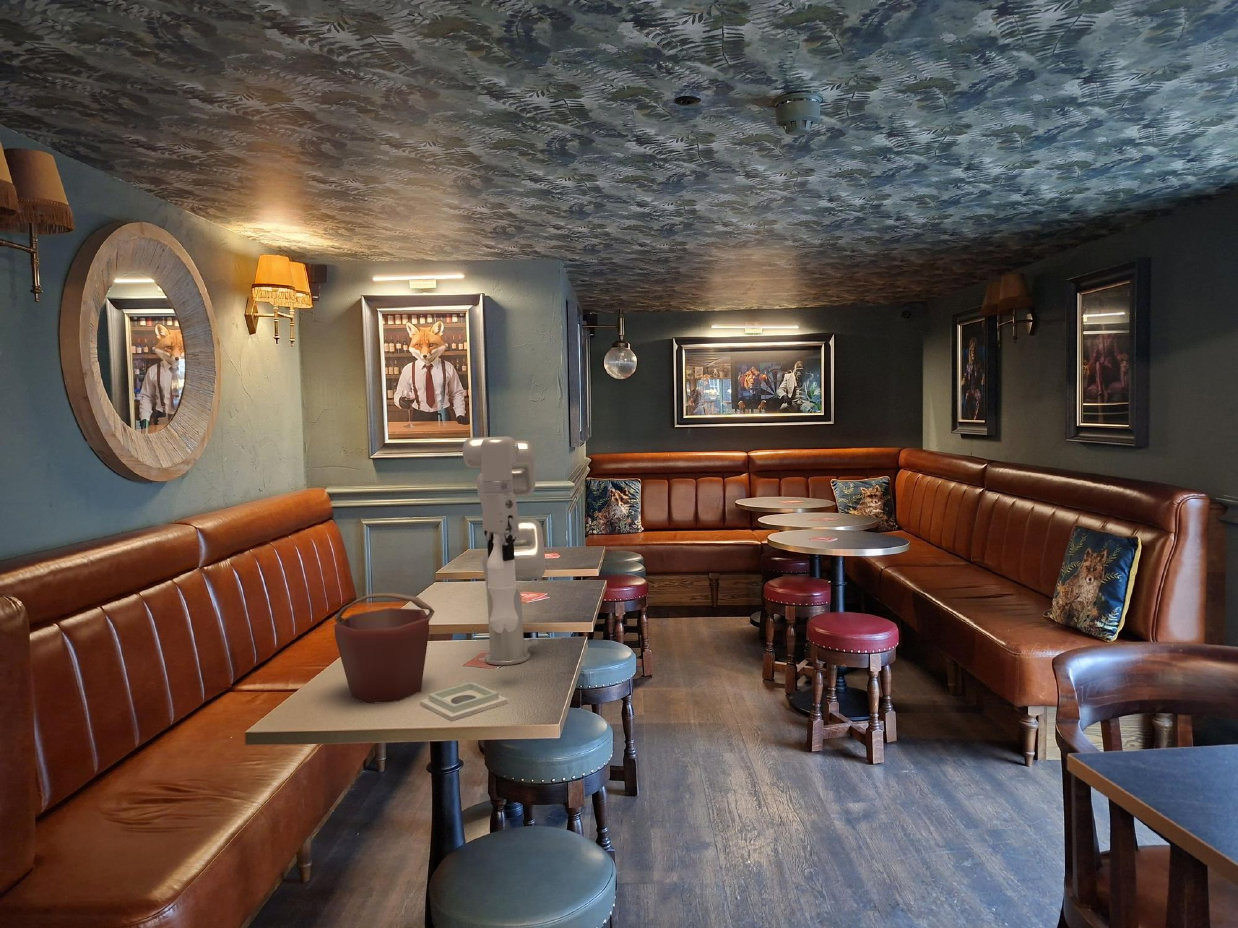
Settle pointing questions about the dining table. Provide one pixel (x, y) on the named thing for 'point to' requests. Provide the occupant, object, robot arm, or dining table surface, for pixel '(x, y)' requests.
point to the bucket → (384, 649)
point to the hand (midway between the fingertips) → (501, 557)
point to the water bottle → (501, 588)
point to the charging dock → (462, 701)
